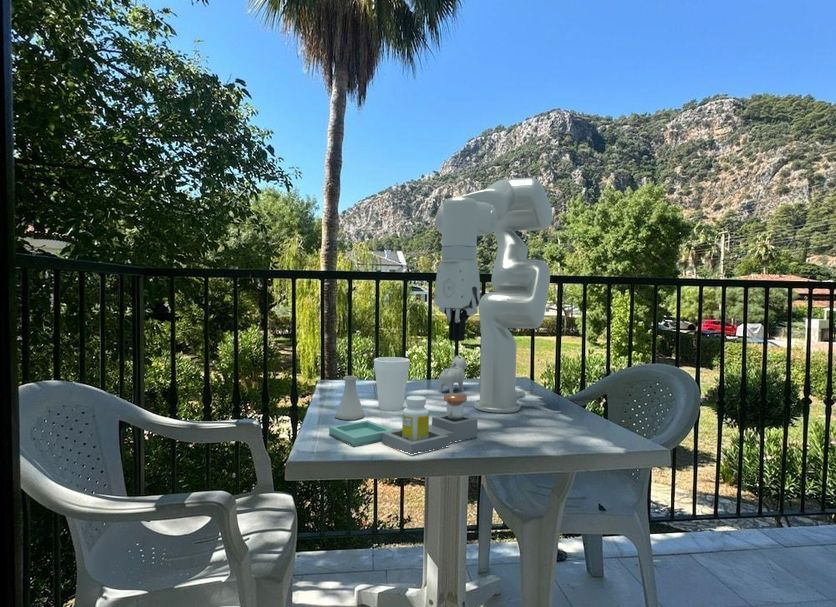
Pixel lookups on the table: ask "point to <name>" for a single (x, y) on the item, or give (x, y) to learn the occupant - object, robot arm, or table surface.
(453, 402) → the plunger
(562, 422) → the table surface
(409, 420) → the supplement bottle
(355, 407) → the flask
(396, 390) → the foam cup
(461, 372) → the dog figurine
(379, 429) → the tray
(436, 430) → the housing
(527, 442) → the table surface
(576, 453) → the table surface
